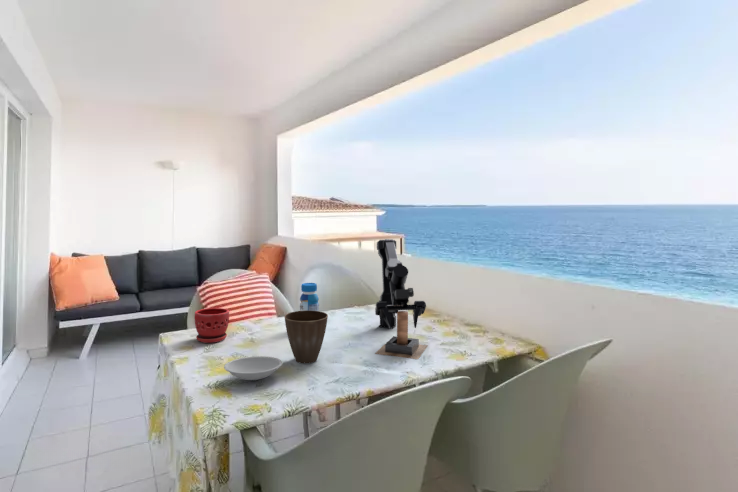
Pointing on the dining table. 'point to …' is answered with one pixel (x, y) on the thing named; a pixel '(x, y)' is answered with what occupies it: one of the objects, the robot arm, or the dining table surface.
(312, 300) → the beverage bottle
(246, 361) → the dish
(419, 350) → the walnut board
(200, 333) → the plant pot
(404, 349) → the black collar
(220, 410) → the dining table surface
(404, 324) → the terracotta pin
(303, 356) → the plant pot
